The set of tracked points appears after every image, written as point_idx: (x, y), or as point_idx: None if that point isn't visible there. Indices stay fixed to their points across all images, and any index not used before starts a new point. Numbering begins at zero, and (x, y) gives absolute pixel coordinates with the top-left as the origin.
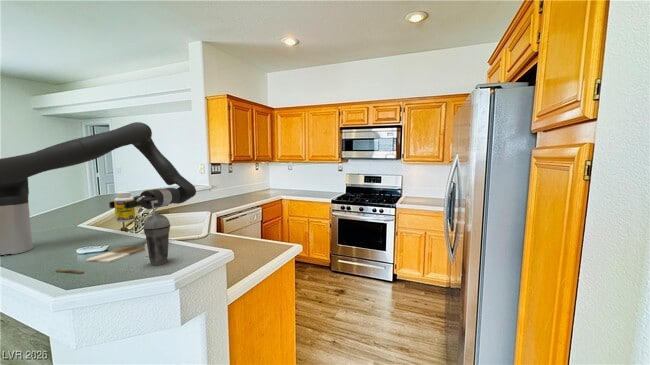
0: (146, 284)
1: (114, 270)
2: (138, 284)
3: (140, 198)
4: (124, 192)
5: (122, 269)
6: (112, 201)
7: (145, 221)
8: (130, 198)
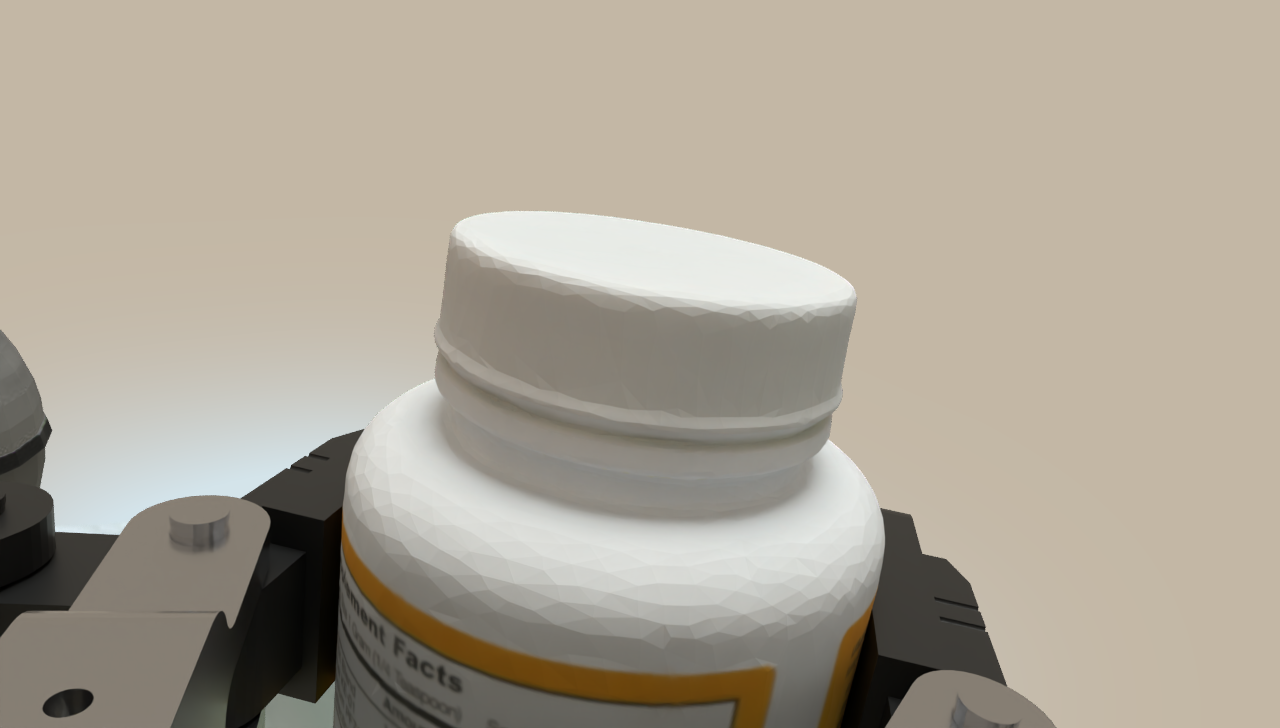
0: (59, 526)
1: (324, 710)
2: (105, 533)
3: (91, 613)
4: (623, 244)
5: (265, 717)
6: (910, 539)
7: (14, 347)
8: (395, 402)
